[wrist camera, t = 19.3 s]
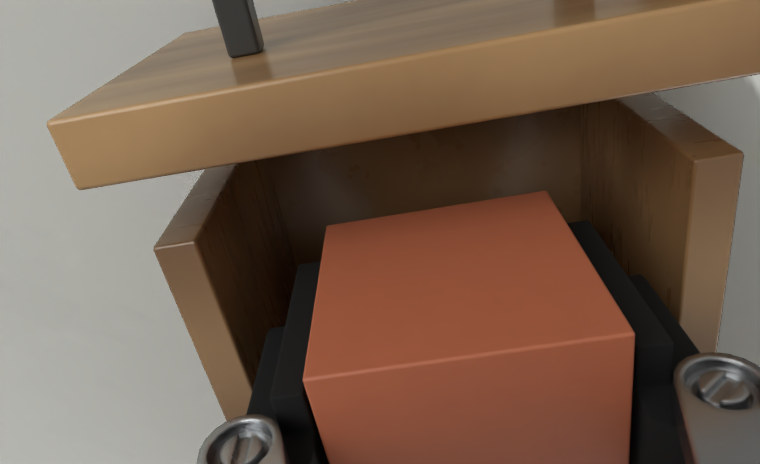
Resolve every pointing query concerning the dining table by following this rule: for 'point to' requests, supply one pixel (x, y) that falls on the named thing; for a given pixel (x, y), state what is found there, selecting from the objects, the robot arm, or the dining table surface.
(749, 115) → the dining table surface
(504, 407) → the block
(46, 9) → the dining table surface
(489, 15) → the drawer
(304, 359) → the robot arm
